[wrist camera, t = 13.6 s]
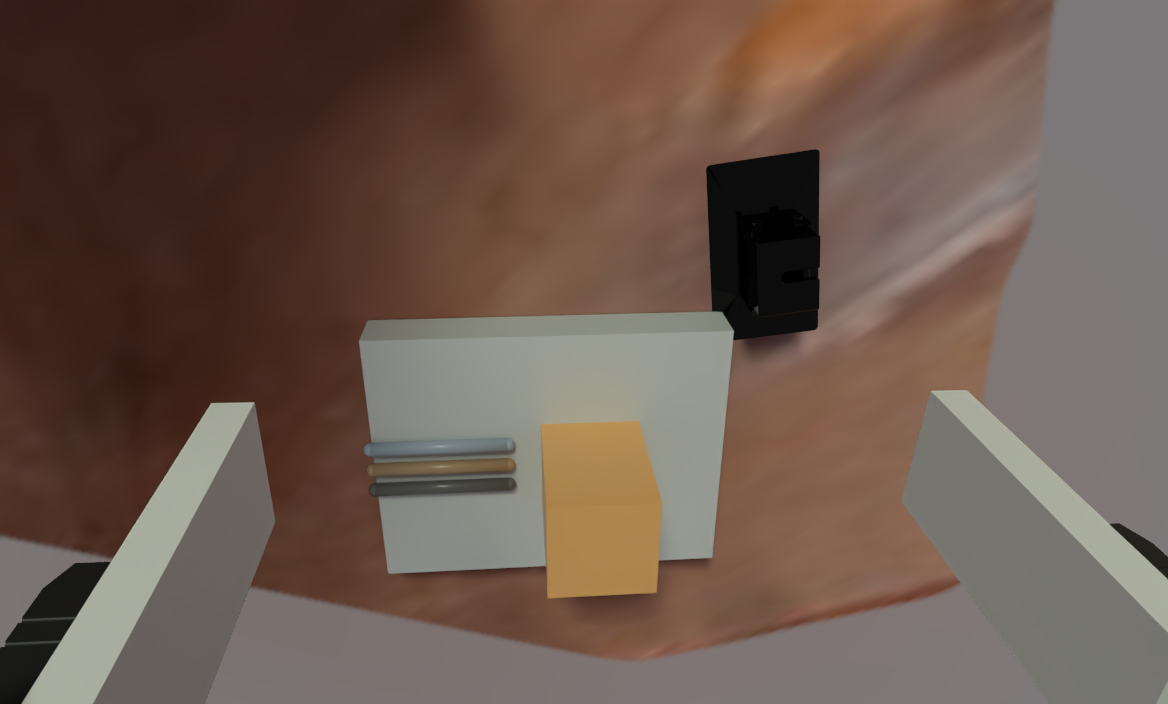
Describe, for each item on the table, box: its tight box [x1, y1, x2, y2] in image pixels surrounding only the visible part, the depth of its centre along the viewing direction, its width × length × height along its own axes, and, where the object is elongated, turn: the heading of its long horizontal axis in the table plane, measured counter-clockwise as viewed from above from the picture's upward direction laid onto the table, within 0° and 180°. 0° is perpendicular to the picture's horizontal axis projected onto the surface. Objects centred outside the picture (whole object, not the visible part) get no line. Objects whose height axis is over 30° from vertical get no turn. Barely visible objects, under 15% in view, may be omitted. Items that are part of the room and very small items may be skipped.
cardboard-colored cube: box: [541, 421, 662, 598], centre depth 38 cm, size 5×5×7 cm
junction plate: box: [359, 312, 734, 574], centre depth 39 cm, size 18×14×8 cm
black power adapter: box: [706, 149, 820, 340], centre depth 38 cm, size 12×7×5 cm, turn 7°
